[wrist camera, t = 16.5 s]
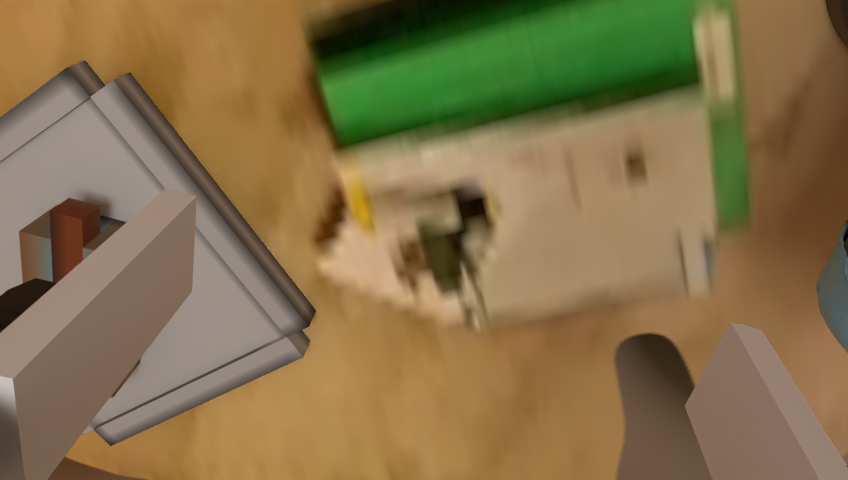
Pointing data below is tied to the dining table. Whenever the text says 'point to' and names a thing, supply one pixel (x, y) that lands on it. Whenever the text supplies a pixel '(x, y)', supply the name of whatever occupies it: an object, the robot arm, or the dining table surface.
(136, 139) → the grey tray
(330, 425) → the dining table surface
